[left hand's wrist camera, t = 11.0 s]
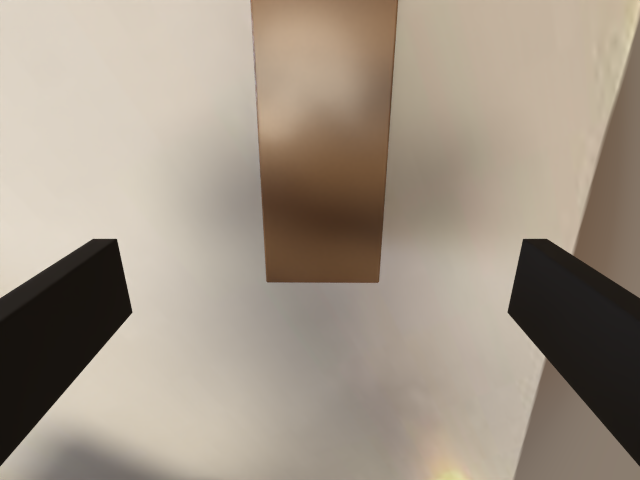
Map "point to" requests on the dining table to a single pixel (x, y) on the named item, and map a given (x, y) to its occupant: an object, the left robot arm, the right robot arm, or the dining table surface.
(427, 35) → the dining table surface
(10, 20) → the dining table surface
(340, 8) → the brown wooden brick
